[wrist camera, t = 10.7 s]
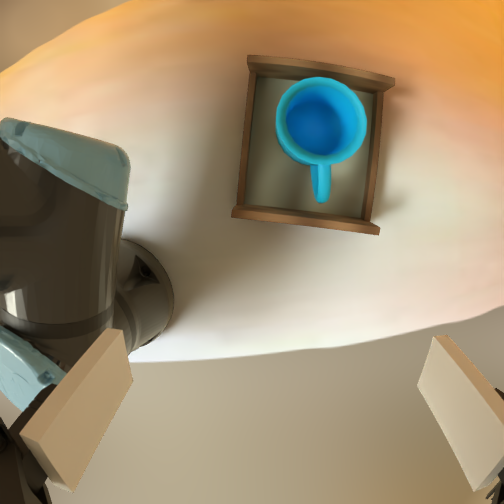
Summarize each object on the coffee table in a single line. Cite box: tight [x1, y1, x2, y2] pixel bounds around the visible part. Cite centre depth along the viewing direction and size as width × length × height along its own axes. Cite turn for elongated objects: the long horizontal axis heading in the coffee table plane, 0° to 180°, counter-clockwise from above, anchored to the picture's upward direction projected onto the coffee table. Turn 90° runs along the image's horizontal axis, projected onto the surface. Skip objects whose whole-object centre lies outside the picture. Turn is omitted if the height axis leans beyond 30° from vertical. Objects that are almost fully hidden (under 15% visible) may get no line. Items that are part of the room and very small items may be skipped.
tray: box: [231, 55, 395, 235], centre depth 31 cm, size 15×17×6 cm
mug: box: [276, 77, 367, 203], centre depth 29 cm, size 12×8×8 cm
